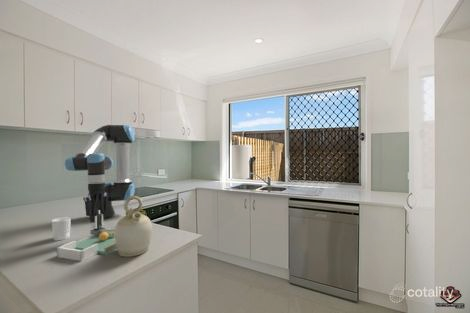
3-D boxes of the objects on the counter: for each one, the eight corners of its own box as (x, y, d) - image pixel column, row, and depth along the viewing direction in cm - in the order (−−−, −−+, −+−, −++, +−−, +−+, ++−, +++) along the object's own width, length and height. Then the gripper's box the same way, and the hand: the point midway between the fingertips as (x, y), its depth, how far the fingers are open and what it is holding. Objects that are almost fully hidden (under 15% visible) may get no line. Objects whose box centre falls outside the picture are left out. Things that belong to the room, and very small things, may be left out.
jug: (151, 255, 92) (149, 197, 92) (110, 261, 88) (109, 200, 87) (153, 241, 107) (152, 191, 106) (119, 245, 102) (118, 193, 102)
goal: (74, 249, 99) (74, 240, 99) (98, 252, 95) (97, 244, 95) (57, 256, 92) (56, 247, 92) (81, 261, 88) (81, 251, 88)
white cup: (69, 234, 118) (68, 216, 118) (73, 237, 113) (72, 218, 113) (50, 238, 112) (49, 219, 112) (54, 242, 107) (53, 222, 107)
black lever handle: (99, 231, 116) (98, 208, 115) (119, 234, 112) (118, 210, 112) (90, 235, 111) (89, 211, 111) (111, 237, 107) (110, 212, 107)
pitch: (107, 231, 122) (107, 226, 122) (142, 235, 115) (142, 230, 115) (66, 248, 100) (65, 242, 100) (106, 254, 93) (106, 248, 93)
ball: (104, 238, 108) (103, 230, 108) (110, 239, 107) (110, 231, 107) (96, 241, 105) (96, 233, 104) (103, 242, 103) (103, 234, 103)
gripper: (104, 180, 121) (105, 221, 121) (75, 184, 106) (77, 231, 106) (114, 180, 119) (115, 222, 119) (87, 185, 103) (88, 233, 104)
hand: (97, 227), depth 113 cm, fingers closed on black lever handle, 3 cm apart
